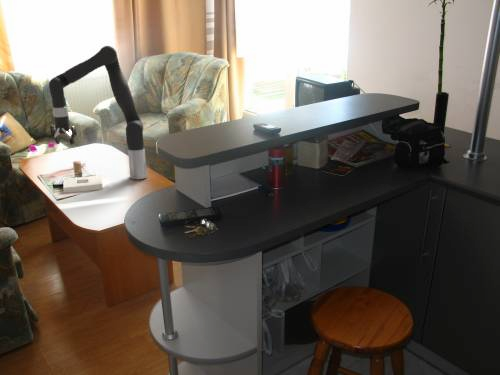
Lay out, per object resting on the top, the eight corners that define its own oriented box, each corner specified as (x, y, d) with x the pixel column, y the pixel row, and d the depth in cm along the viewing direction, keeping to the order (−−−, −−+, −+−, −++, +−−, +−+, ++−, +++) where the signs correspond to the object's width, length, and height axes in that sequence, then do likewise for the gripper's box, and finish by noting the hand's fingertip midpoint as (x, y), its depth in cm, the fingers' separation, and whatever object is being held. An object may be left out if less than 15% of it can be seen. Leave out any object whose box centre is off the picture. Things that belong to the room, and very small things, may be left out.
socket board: (100, 180, 285) (100, 175, 284) (102, 189, 271) (102, 183, 270) (64, 183, 279) (63, 178, 278) (64, 193, 265) (63, 187, 264)
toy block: (33, 158, 328) (32, 147, 325) (30, 156, 332) (29, 145, 330) (56, 154, 337) (55, 144, 334) (53, 152, 342) (51, 142, 339)
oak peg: (82, 177, 290) (80, 161, 287) (82, 179, 287) (80, 162, 283) (75, 178, 289) (73, 161, 286) (75, 180, 285) (73, 163, 282)
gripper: (76, 114, 270) (80, 143, 276) (53, 113, 273) (57, 142, 279) (68, 117, 263) (72, 146, 269) (45, 116, 266) (49, 145, 272)
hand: (65, 144), depth 274 cm, fingers open, 8 cm apart
